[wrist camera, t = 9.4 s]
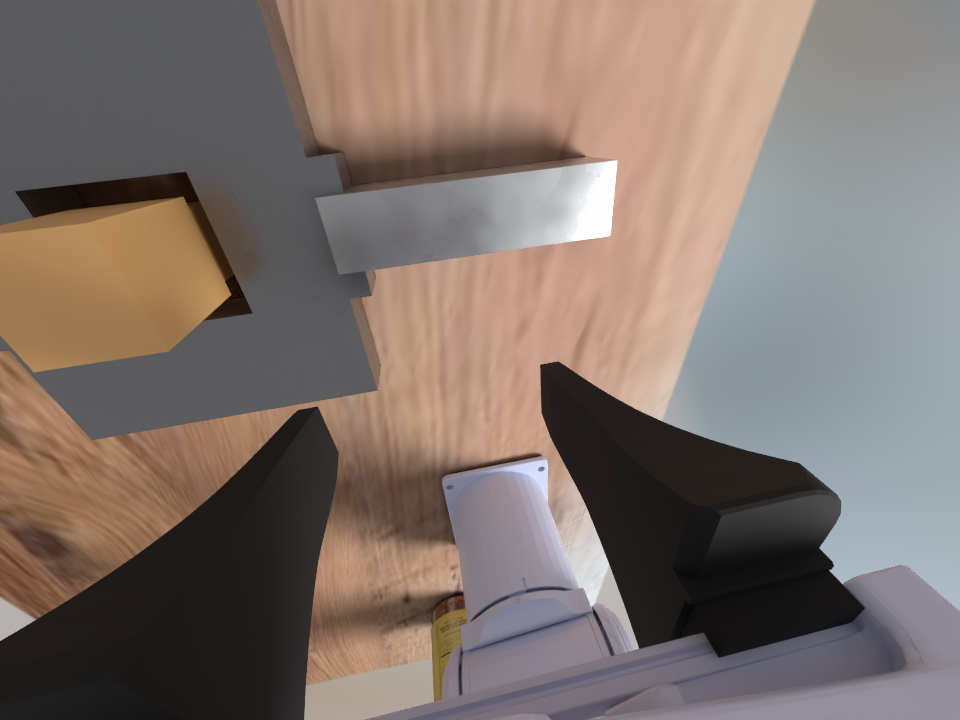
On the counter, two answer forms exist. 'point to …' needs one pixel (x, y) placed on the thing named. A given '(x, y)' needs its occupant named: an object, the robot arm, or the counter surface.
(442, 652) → the sauce bottle
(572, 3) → the counter surface
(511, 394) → the counter surface
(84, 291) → the wedge pin
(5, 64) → the grey mounting plate
